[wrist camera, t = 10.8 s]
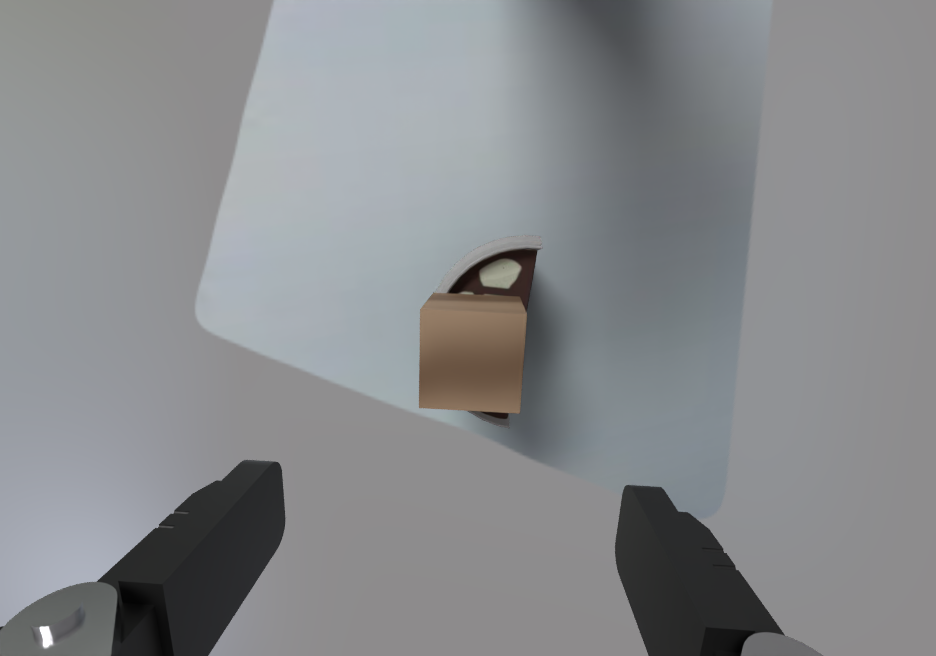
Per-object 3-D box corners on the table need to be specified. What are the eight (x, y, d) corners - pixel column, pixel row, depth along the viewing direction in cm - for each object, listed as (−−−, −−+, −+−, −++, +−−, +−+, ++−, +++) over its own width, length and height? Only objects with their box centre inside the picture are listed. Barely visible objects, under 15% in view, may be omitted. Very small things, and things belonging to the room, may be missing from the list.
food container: (450, 221, 34) (435, 221, 24) (528, 233, 34) (544, 237, 24) (431, 368, 37) (411, 421, 27) (502, 379, 37) (508, 436, 27)
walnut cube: (433, 292, 25) (420, 309, 20) (519, 296, 25) (527, 314, 20) (432, 373, 26) (418, 407, 21) (514, 378, 26) (519, 413, 21)
